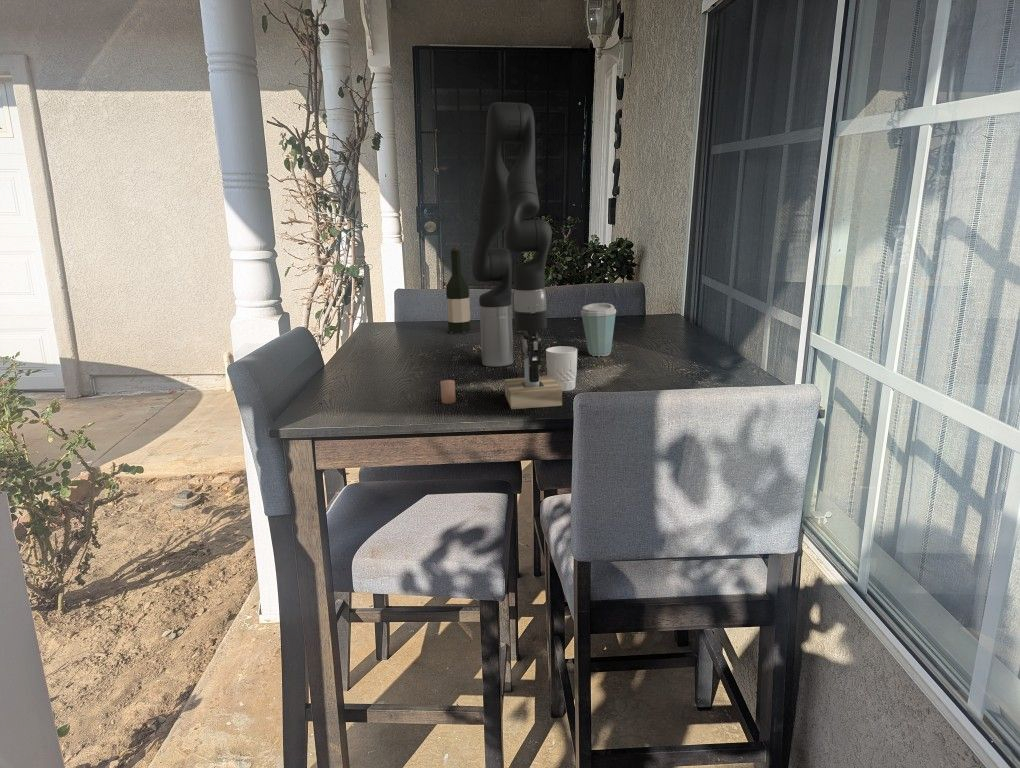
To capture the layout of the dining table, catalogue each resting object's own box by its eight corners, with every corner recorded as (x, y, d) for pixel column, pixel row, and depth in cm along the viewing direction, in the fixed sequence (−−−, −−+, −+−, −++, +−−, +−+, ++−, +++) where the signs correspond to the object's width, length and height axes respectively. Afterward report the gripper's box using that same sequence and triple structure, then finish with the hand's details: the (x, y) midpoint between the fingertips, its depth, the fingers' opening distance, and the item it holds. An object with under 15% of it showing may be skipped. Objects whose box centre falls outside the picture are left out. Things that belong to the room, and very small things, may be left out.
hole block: (504, 395, 176) (504, 379, 175) (552, 391, 178) (552, 376, 176) (511, 409, 165) (510, 392, 164) (562, 405, 166) (561, 389, 165)
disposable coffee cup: (615, 358, 209) (615, 308, 205) (578, 358, 211) (578, 308, 208) (617, 350, 219) (617, 302, 215) (582, 350, 221) (582, 302, 218)
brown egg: (441, 400, 174) (440, 380, 173) (455, 399, 174) (454, 379, 173) (441, 403, 171) (440, 383, 170) (456, 402, 171) (454, 382, 170)
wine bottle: (446, 330, 261) (441, 247, 253) (468, 328, 263) (464, 246, 255) (451, 334, 253) (446, 249, 245) (473, 332, 255) (469, 248, 247)
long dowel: (524, 398, 173) (523, 358, 170) (538, 397, 173) (537, 357, 171) (526, 402, 169) (525, 361, 167) (540, 401, 170) (539, 360, 167)
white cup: (575, 383, 185) (575, 345, 182) (579, 391, 177) (579, 352, 174) (545, 384, 184) (544, 346, 182) (548, 392, 177) (547, 353, 174)
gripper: (510, 304, 172) (512, 372, 176) (518, 314, 158) (520, 387, 162) (540, 302, 173) (542, 370, 177) (551, 312, 159) (553, 385, 163)
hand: (532, 378), depth 170 cm, fingers open, 5 cm apart
